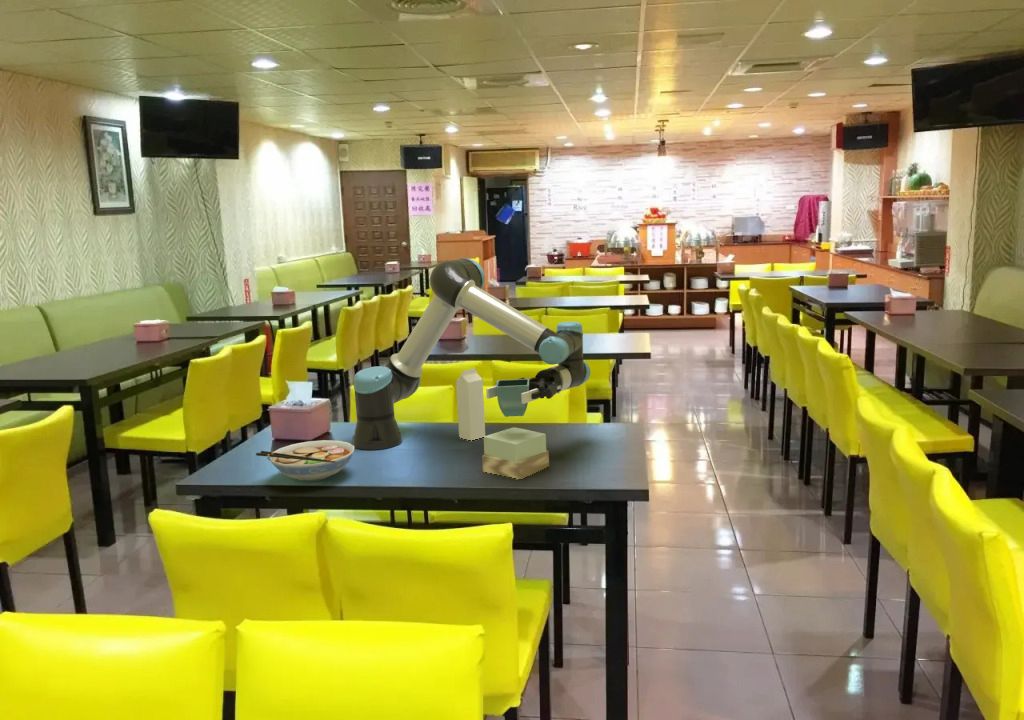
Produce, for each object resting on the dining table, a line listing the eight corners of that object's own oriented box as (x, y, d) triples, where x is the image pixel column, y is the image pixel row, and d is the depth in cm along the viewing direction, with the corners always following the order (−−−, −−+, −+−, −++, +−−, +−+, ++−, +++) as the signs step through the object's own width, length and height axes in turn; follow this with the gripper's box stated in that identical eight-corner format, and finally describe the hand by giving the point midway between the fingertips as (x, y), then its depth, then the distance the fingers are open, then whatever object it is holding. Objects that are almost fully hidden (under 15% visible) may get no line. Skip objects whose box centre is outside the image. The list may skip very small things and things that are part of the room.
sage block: (484, 454, 213) (483, 436, 212) (514, 444, 221) (513, 427, 220) (516, 462, 204) (515, 444, 204) (546, 451, 213) (545, 433, 212)
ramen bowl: (376, 469, 218) (374, 441, 217) (325, 496, 198) (322, 466, 196) (305, 461, 229) (303, 434, 227) (249, 486, 208) (246, 456, 207)
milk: (485, 437, 246) (482, 369, 242) (470, 441, 242) (467, 372, 238) (473, 434, 250) (470, 367, 246) (458, 438, 246) (455, 370, 242)
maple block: (483, 473, 212) (482, 455, 212) (511, 460, 223) (511, 443, 222) (521, 481, 205) (520, 463, 204) (549, 467, 215) (548, 450, 214)
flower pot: (498, 411, 215) (497, 379, 214) (530, 410, 215) (529, 378, 213) (497, 419, 207) (495, 386, 205) (530, 418, 206) (528, 385, 205)
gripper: (587, 397, 217) (541, 415, 200) (520, 389, 232) (472, 404, 215) (586, 371, 216) (540, 386, 199) (519, 364, 230) (470, 378, 214)
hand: (504, 396), depth 207 cm, fingers closed on flower pot, 11 cm apart
